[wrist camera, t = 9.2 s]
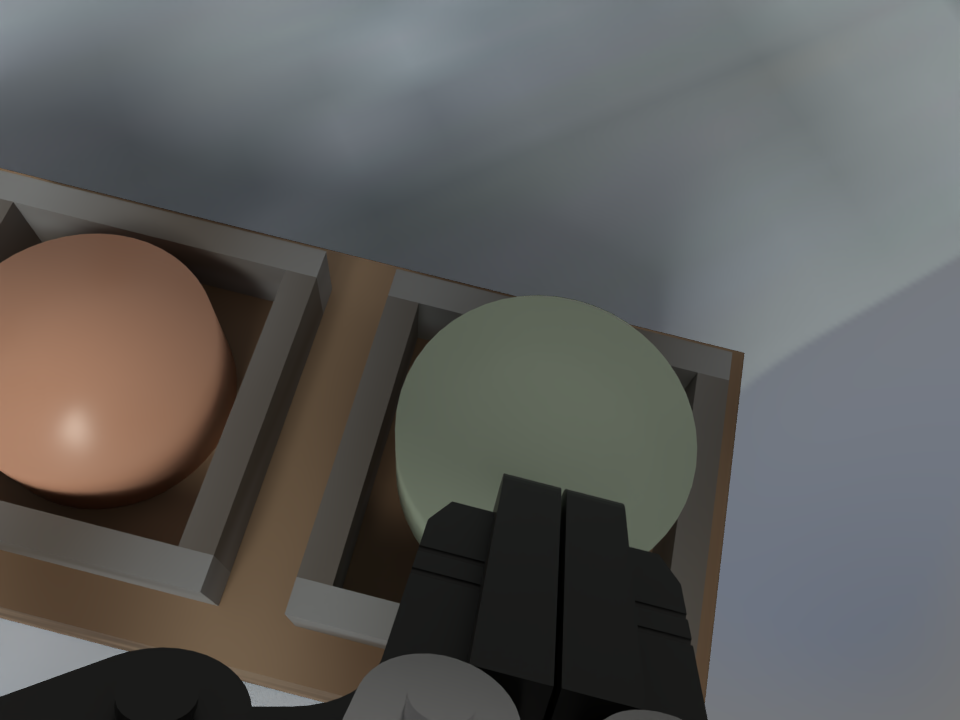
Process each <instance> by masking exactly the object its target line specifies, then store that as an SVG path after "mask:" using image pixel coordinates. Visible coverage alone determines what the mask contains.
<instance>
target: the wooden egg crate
mask: <svg viewBox="0 0 960 720" xmlns="http://www.w3.org/2000/svg"><path fill="white" fill-rule="evenodd" d="M79 234H113V235H120V236H126V237H131V238H135V239H138V240H141V241H144V242H147V243H150V244H152V245H154V246H156V247H159V248H161V249H163V250H164V251H166V252H168V253H169V254H171V255H172V256H174V257H176V258H177V259H178V260H179V261H180V262H181V263H183V264H184V265H185V266H186V267H187V268H188V269H189V270H190V271H191V272H192V273H193V274H194V276H195V277H196V278H197V279H198V281H199V282H200V284H201V285H202V287H203V288H204V290H205V292H206V294H207V296H208V298H209V301H210V303H211V305H212V307H213V310H214V312H215V314H216V317H217V319H218V321H219V324H220V326H221V328H222V331H223V333H224V335H225V337H226V340H227V342H228V344H229V347H230V349H231V351H232V355H233V358H234V362H235V367H236V375H237V393H236V399H235V402H234V404H233V407H232V409H231V412H230V415H229V417H228V420H227V422H226V425H225V427H224V430H223V432H222V435H221V438H220V440H219V442H218V444H217V446H216V447H215V449H214V450H213V451H212V452H211V454H210V455H209V456H208V457H207V458H206V460H205V461H204V462H203V463H202V464H201V465H200V466H199V467H198V468H197V469H196V470H195V471H194V472H193V473H191V474H190V475H189V476H187V477H186V478H185V479H183V480H182V481H181V482H180V483H178V484H177V485H175V486H173V487H171V488H170V489H168V490H166V491H165V492H163V493H161V494H158V495H156V496H154V497H152V498H150V499H147V500H144V501H141V502H138V503H135V504H131V505H127V506H122V507H116V508H108V509H81V508H74V507H69V506H63V505H60V504H57V503H54V502H51V501H48V500H46V499H44V498H42V497H40V496H38V495H36V494H34V493H32V492H31V491H29V490H28V489H26V488H25V487H23V486H22V485H20V484H19V483H17V482H16V481H15V480H13V479H12V478H10V477H9V476H7V475H6V474H4V473H3V472H1V471H0V618H3V619H7V620H11V621H14V622H18V623H22V624H26V625H30V626H34V627H37V628H41V629H45V630H49V631H53V632H57V633H60V634H64V635H68V636H72V637H76V638H80V639H83V640H87V641H91V642H95V643H99V644H103V645H106V646H110V647H114V648H118V649H122V650H126V651H134V650H139V649H145V648H159V647H165V648H180V649H186V650H191V651H195V652H198V653H202V654H205V655H208V656H210V657H212V658H214V659H216V660H218V661H220V662H221V663H223V664H224V665H226V666H227V667H229V668H230V669H231V670H232V671H233V672H234V673H235V674H236V675H237V676H239V678H240V679H241V681H245V682H248V683H252V684H256V685H260V686H264V687H268V688H271V689H275V690H279V691H283V692H287V693H291V694H294V695H298V696H302V697H306V698H310V699H314V700H317V701H321V702H328V701H332V700H335V699H338V698H340V697H342V696H345V695H347V694H349V693H351V692H353V691H354V690H356V689H357V688H358V686H359V684H360V683H361V681H362V680H363V678H364V677H365V676H366V675H367V674H368V673H369V672H370V671H371V670H372V669H373V668H375V667H376V666H378V665H379V663H380V661H381V659H382V656H383V653H384V650H385V647H386V644H387V641H388V638H389V635H390V632H391V629H392V626H393V623H394V620H395V617H396V614H397V611H398V608H399V605H400V602H401V599H402V596H403V593H404V590H405V587H406V584H407V581H408V578H409V575H410V573H411V569H412V566H413V563H414V560H415V557H416V554H417V551H418V548H419V545H420V544H419V543H418V541H417V540H416V538H415V537H414V535H413V533H412V531H411V529H410V527H409V525H408V523H407V521H406V519H405V516H404V513H403V510H402V507H401V504H400V499H399V494H398V489H397V479H396V451H395V423H396V411H397V406H398V401H399V397H400V393H401V390H402V387H403V384H404V382H405V379H406V376H407V374H408V372H409V370H410V369H411V367H412V365H413V363H414V361H415V360H416V358H417V357H418V355H419V354H420V353H421V351H422V350H423V349H424V347H425V346H426V345H427V343H428V342H429V341H430V340H431V339H432V338H433V337H434V336H435V335H436V334H437V333H438V332H439V331H440V330H442V329H443V328H444V327H446V326H447V325H448V324H449V323H451V322H452V321H453V320H455V319H457V318H458V317H460V316H462V315H463V314H465V313H467V312H468V311H471V310H473V309H475V308H478V307H480V306H482V305H484V304H487V303H491V302H494V301H498V300H501V299H506V298H512V297H517V296H513V295H509V294H505V293H501V292H497V291H493V290H489V289H485V288H481V287H477V286H473V285H469V284H465V283H461V282H457V281H453V280H449V279H445V278H440V277H436V276H432V275H428V274H424V273H420V272H416V271H412V270H408V269H404V268H400V267H396V266H392V265H388V264H384V263H380V262H376V261H372V260H368V259H364V258H360V257H356V256H352V255H348V254H344V253H340V252H336V251H332V250H328V249H324V248H320V247H316V246H312V245H308V244H304V243H300V242H296V241H292V240H288V239H284V238H280V237H275V236H271V235H267V234H263V233H259V232H255V231H251V230H247V229H243V228H239V227H235V226H231V225H227V224H223V223H219V222H215V221H211V220H207V219H203V218H199V217H195V216H191V215H187V214H183V213H179V212H175V211H171V210H167V209H163V208H159V207H155V206H151V205H147V204H143V203H139V202H135V201H131V200H127V199H123V198H119V197H114V196H110V195H106V194H102V193H98V192H94V191H90V190H86V189H82V188H78V187H74V186H70V185H66V184H62V183H58V182H54V181H50V180H46V179H42V178H38V177H34V176H30V175H26V174H22V173H18V172H14V171H10V170H6V169H2V168H0V263H1V262H3V261H4V260H6V259H8V258H9V257H11V256H13V255H14V254H16V253H19V252H21V251H23V250H25V249H27V248H29V247H31V246H34V245H37V244H40V243H43V242H45V241H49V240H53V239H57V238H61V237H65V236H72V235H79ZM629 325H630V324H629ZM631 326H632V327H633V328H635V329H636V330H637V331H639V332H640V333H641V334H643V335H644V336H645V337H646V338H647V339H648V340H649V341H650V342H651V343H652V344H653V345H654V346H655V347H656V348H657V349H658V350H659V351H660V353H661V354H662V355H663V356H664V357H665V359H666V360H667V361H668V363H669V364H670V366H671V367H672V369H673V370H674V372H675V373H676V375H677V376H678V378H679V380H680V382H681V384H682V386H683V388H684V390H685V392H686V395H687V398H688V401H689V403H690V406H691V409H692V413H693V418H694V422H695V427H696V437H697V460H696V469H695V474H694V479H693V484H692V487H691V490H690V493H689V496H688V498H687V501H686V504H685V505H684V507H683V509H682V511H681V513H680V515H679V517H678V519H677V520H676V522H675V523H674V524H673V526H672V527H671V528H670V530H669V531H668V532H667V534H666V535H665V536H664V537H663V538H662V539H661V540H660V541H659V542H658V543H657V544H656V545H655V546H654V547H653V548H652V549H651V550H650V551H649V552H652V553H656V554H659V555H660V557H661V558H662V559H663V561H664V562H665V563H666V565H667V566H668V567H669V569H670V570H671V571H672V573H673V574H674V575H675V577H676V578H677V579H678V581H679V582H680V583H681V587H682V592H683V597H684V602H685V607H686V612H687V615H686V619H687V620H688V623H689V628H690V633H691V638H692V640H691V645H693V648H694V653H695V658H696V663H697V668H698V673H699V678H700V684H701V689H702V694H703V699H704V704H705V697H706V687H707V679H708V670H709V661H710V652H711V643H712V634H713V624H714V617H715V608H716V599H717V590H718V581H719V572H720V563H721V555H722V546H723V537H724V527H725V519H726V511H727V502H728V492H729V483H730V475H731V465H732V457H733V448H734V440H735V430H736V422H737V413H738V404H739V396H740V387H741V378H742V369H743V360H744V353H742V352H738V351H734V350H730V349H726V348H722V347H718V346H714V345H710V344H706V343H702V342H698V341H694V340H690V339H686V338H682V337H678V336H674V335H670V334H666V333H662V332H658V331H654V330H650V329H646V328H642V327H638V326H634V325H631Z"/></svg>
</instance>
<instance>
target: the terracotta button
mask: <svg viewBox="0 0 960 720" xmlns="http://www.w3.org/2000/svg"><path fill="white" fill-rule="evenodd" d="M236 393H237V375H236V367H235V362H234V358H233V355H232V351H231V349H230V347H229V344H228V342H227V340H226V337H225V335H224V333H223V331H222V328H221V326H220V324H219V321H218V319H217V317H216V314H215V312H214V310H213V307H212V305H211V303H210V301H209V298H208V296H207V294H206V292H205V290H204V288H203V287H202V285H201V284H200V282H199V281H198V279H197V278H196V277H195V276H194V274H193V273H192V272H191V271H190V270H189V269H188V268H187V267H186V266H185V265H184V264H183V263H181V262H180V261H179V260H178V259H177V258H176V257H174V256H172V255H171V254H169V253H168V252H166V251H164V250H163V249H161V248H159V247H156V246H154V245H152V244H150V243H147V242H144V241H141V240H138V239H135V238H131V237H126V236H120V235H113V234H79V235H72V236H65V237H61V238H57V239H53V240H49V241H45V242H43V243H40V244H37V245H34V246H31V247H29V248H27V249H25V250H23V251H21V252H19V253H16V254H14V255H13V256H11V257H9V258H8V259H6V260H4V261H3V262H1V263H0V471H1V472H3V473H4V474H6V475H7V476H9V477H10V478H12V479H13V480H15V481H16V482H17V483H19V484H20V485H22V486H23V487H25V488H26V489H28V490H29V491H31V492H32V493H34V494H36V495H38V496H40V497H42V498H44V499H46V500H48V501H51V502H54V503H57V504H60V505H63V506H69V507H74V508H81V509H108V508H116V507H122V506H127V505H131V504H135V503H138V502H141V501H144V500H147V499H150V498H152V497H154V496H156V495H158V494H161V493H163V492H165V491H166V490H168V489H170V488H171V487H173V486H175V485H177V484H178V483H180V482H181V481H182V480H183V479H185V478H186V477H187V476H189V475H190V474H191V473H193V472H194V471H195V470H196V469H197V468H198V467H199V466H200V465H201V464H202V463H203V462H204V461H205V460H206V458H207V457H208V456H209V455H210V454H211V452H212V451H213V450H214V449H215V447H216V446H217V444H218V442H219V440H220V438H221V435H222V432H223V430H224V427H225V425H226V422H227V420H228V417H229V415H230V412H231V409H232V407H233V404H234V402H235V399H236Z"/></svg>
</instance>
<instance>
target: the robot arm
mask: <svg viewBox="0 0 960 720" xmlns="http://www.w3.org/2000/svg"><path fill="white" fill-rule="evenodd" d="M686 615H687V612H686V607H685V602H684V597H683V592H682V587H681V583H680V582H679V581H678V579H677V578H676V577H675V575H674V574H673V573H672V571H671V570H670V569H669V567H668V566H667V565H666V563H665V562H664V561H663V559H662V558H661V557H660V555H659V554H656V553H652V552H648V551H644V550H640V549H636V548H632V547H629V540H628V530H627V521H626V511H625V505H624V504H623V503H619V502H615V501H612V500H608V499H604V498H600V497H596V496H592V495H588V494H584V493H580V492H576V491H572V490H568V489H565V490H564V492H563V494H562V496H561V488H560V487H556V486H552V485H548V484H544V483H540V482H536V481H533V480H529V479H525V478H521V477H517V476H513V475H509V474H505V473H504V474H503V477H502V480H501V483H500V487H499V491H498V494H497V498H496V502H495V506H494V509H493V512H492V511H488V510H484V509H480V508H476V507H472V506H468V505H464V504H460V503H457V502H453V501H452V502H451V503H449V504H448V505H447V506H445V507H444V508H442V509H441V510H440V511H438V512H437V513H436V514H434V515H433V516H431V517H430V518H429V519H428V521H427V524H426V527H425V530H424V533H423V536H422V539H421V542H420V545H419V548H418V551H417V554H416V557H415V560H414V563H413V566H412V569H411V573H410V575H409V578H408V581H407V584H406V587H405V590H404V593H403V596H402V599H401V602H400V605H399V608H398V611H397V614H396V617H395V620H394V623H393V626H392V629H391V632H390V635H389V638H388V641H387V644H386V647H385V650H384V653H383V656H382V659H381V661H380V663H379V665H378V666H376V667H375V668H373V669H372V670H371V671H370V672H369V673H368V674H367V675H366V676H365V677H364V678H363V680H362V681H361V683H360V684H359V686H358V688H357V689H356V690H354V691H353V692H351V693H349V694H347V695H345V696H342V697H340V698H338V699H335V700H332V701H328V702H325V703H320V704H315V705H309V706H294V707H252V706H251V699H250V696H249V693H248V691H247V689H246V686H245V685H244V684H243V682H242V681H241V679H240V678H239V676H237V675H236V674H235V673H234V672H233V671H232V670H231V669H230V668H229V667H227V666H226V665H224V664H223V663H221V662H220V661H218V660H216V659H214V658H212V657H210V656H208V655H205V654H202V653H198V652H195V651H191V650H186V649H180V648H165V647H159V648H145V649H139V650H134V651H129V652H126V653H122V654H119V655H115V656H112V657H110V658H107V659H104V660H101V661H99V662H96V663H93V664H90V665H87V666H85V667H82V668H79V669H76V670H74V671H71V672H68V673H65V674H62V675H60V676H57V677H54V678H51V679H49V680H46V681H43V682H40V683H37V684H35V685H32V686H29V687H26V688H24V689H21V690H18V691H15V692H12V693H10V694H7V695H4V696H1V697H0V720H708V719H707V714H706V710H705V704H704V699H703V694H702V689H701V684H700V678H699V673H698V668H697V663H696V658H695V653H694V648H693V645H691V640H692V638H691V633H690V628H689V623H688V620H687V619H686Z"/></svg>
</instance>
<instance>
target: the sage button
mask: <svg viewBox="0 0 960 720" xmlns="http://www.w3.org/2000/svg"><path fill="white" fill-rule="evenodd" d="M395 451H396V479H397V489H398V494H399V499H400V504H401V507H402V510H403V513H404V516H405V519H406V521H407V523H408V525H409V527H410V529H411V531H412V533H413V535H414V537H415V538H416V540H417V541H418V543H419V544H420V542H421V539H422V536H423V533H424V530H425V527H426V524H427V521H428V519H429V518H430V517H431V516H433V515H434V514H436V513H437V512H438V511H440V510H441V509H442V508H444V507H445V506H447V505H448V504H449V503H451V502H452V501H453V502H457V503H460V504H464V505H468V506H472V507H476V508H480V509H484V510H488V511H492V512H493V509H494V506H495V502H496V498H497V494H498V491H499V487H500V483H501V480H502V477H503V474H504V473H505V474H509V475H513V476H517V477H521V478H525V479H529V480H533V481H536V482H540V483H544V484H548V485H552V486H556V487H560V488H561V496H562V494H563V492H564V490H565V489H568V490H572V491H576V492H580V493H584V494H588V495H592V496H596V497H600V498H604V499H608V500H612V501H615V502H619V503H623V504H624V505H625V511H626V521H627V530H628V540H629V547H632V548H636V549H640V550H644V551H648V552H649V551H650V550H651V549H652V548H653V547H654V546H655V545H656V544H657V543H658V542H659V541H660V540H661V539H662V538H663V537H664V536H665V535H666V534H667V532H668V531H669V530H670V528H671V527H672V526H673V524H674V523H675V522H676V520H677V519H678V517H679V515H680V513H681V511H682V509H683V507H684V505H685V504H686V501H687V498H688V496H689V493H690V490H691V487H692V484H693V479H694V474H695V469H696V460H697V437H696V427H695V422H694V418H693V413H692V409H691V406H690V403H689V401H688V398H687V395H686V392H685V390H684V388H683V386H682V384H681V382H680V380H679V378H678V376H677V375H676V373H675V372H674V370H673V369H672V367H671V366H670V364H669V363H668V361H667V360H666V359H665V357H664V356H663V355H662V354H661V353H660V351H659V350H658V349H657V348H656V347H655V346H654V345H653V344H652V343H651V342H650V341H649V340H648V339H647V338H646V337H645V336H644V335H643V334H641V333H640V332H639V331H637V330H636V329H635V328H633V327H632V326H631V325H629V324H628V323H627V322H625V321H623V320H622V319H620V318H618V317H616V316H615V315H613V314H611V313H609V312H607V311H605V310H602V309H600V308H598V307H595V306H593V305H590V304H587V303H583V302H580V301H577V300H573V299H567V298H562V297H556V296H542V295H535V296H518V297H512V298H506V299H501V300H498V301H494V302H491V303H487V304H484V305H482V306H480V307H478V308H475V309H473V310H471V311H468V312H467V313H465V314H463V315H462V316H460V317H458V318H457V319H455V320H453V321H452V322H451V323H449V324H448V325H447V326H446V327H444V328H443V329H442V330H440V331H439V332H438V333H437V334H436V335H435V336H434V337H433V338H432V339H431V340H430V341H429V342H428V343H427V345H426V346H425V347H424V349H423V350H422V351H421V353H420V354H419V355H418V357H417V358H416V360H415V361H414V363H413V365H412V367H411V369H410V370H409V372H408V374H407V376H406V379H405V382H404V384H403V387H402V390H401V393H400V397H399V401H398V406H397V411H396V423H395Z"/></svg>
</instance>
